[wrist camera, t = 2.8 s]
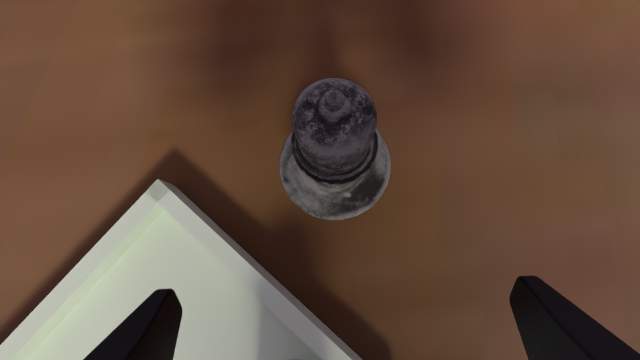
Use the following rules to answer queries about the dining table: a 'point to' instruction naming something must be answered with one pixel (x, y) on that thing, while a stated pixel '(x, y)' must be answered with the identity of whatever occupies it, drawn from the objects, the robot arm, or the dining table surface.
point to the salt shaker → (334, 151)
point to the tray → (189, 285)
